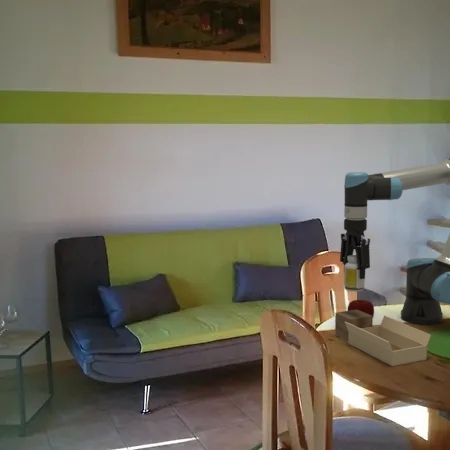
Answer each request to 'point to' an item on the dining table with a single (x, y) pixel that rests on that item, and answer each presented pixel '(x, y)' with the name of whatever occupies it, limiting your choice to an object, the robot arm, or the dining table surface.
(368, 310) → the apple
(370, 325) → the block
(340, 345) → the dining table surface
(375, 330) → the carton
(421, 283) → the robot arm
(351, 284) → the pill bottle
